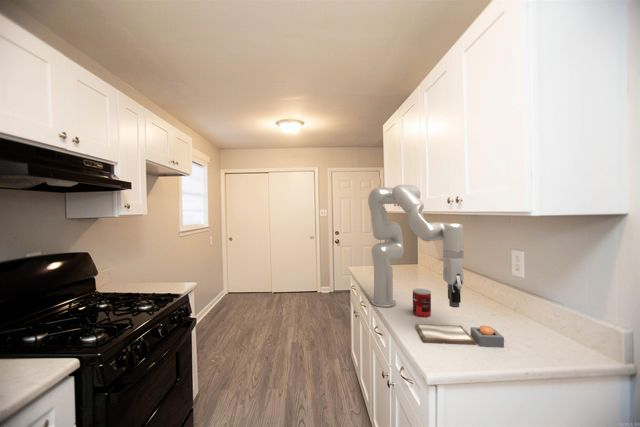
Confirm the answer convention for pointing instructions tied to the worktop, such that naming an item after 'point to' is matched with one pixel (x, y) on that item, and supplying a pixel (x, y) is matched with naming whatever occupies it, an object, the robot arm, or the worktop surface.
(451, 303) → the grey tall cylinder
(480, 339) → the button housing
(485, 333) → the button
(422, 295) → the canned food
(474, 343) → the board
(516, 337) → the worktop surface
